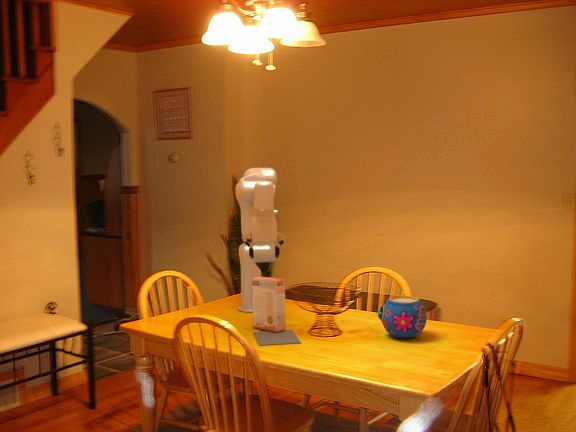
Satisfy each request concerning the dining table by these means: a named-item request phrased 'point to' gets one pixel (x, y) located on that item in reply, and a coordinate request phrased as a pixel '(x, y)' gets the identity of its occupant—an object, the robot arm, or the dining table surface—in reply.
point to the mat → (276, 337)
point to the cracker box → (269, 304)
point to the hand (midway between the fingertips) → (264, 257)
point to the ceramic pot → (403, 316)
